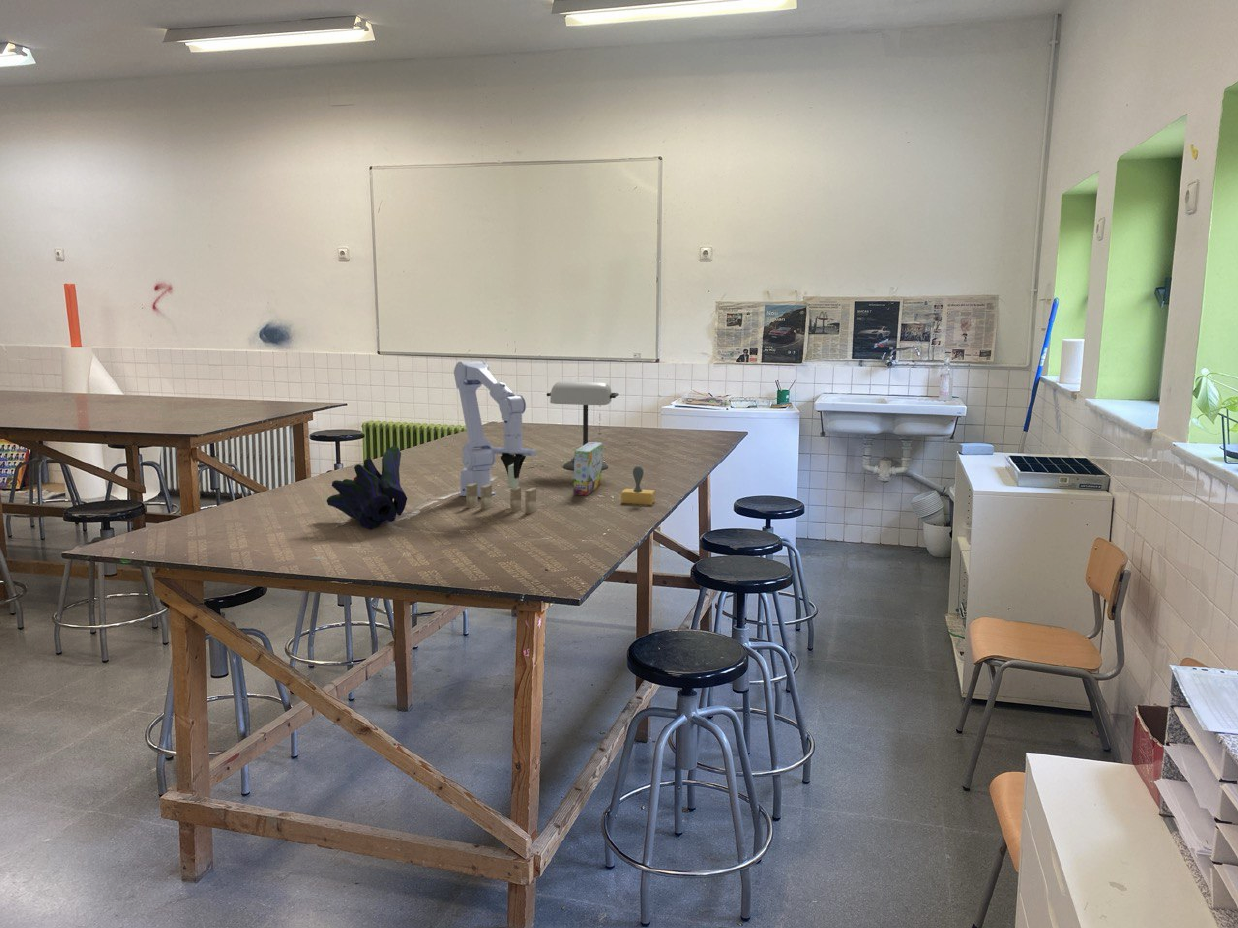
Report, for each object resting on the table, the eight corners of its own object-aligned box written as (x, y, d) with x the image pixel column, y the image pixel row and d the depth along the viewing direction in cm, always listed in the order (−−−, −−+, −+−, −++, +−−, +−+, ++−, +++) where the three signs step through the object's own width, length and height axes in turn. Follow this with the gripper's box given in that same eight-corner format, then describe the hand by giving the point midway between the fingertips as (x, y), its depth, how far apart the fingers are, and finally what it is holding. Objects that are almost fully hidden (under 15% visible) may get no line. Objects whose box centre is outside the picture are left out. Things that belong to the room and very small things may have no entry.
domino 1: (466, 507, 278) (466, 485, 277) (473, 504, 282) (472, 483, 281) (471, 508, 277) (470, 486, 276) (477, 505, 281) (477, 483, 280)
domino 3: (508, 487, 279) (507, 465, 277) (514, 484, 283) (513, 463, 281) (513, 488, 278) (512, 466, 277) (518, 485, 282) (518, 463, 281)
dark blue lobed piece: (357, 561, 251) (332, 513, 275) (441, 519, 259) (409, 475, 282) (327, 505, 240) (304, 459, 263) (416, 462, 247) (385, 421, 270)
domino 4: (510, 511, 273) (510, 489, 272) (516, 508, 277) (516, 486, 276) (515, 512, 273) (515, 489, 271) (521, 509, 277) (521, 487, 276)
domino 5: (525, 513, 272) (525, 490, 270) (531, 510, 276) (531, 488, 275) (530, 513, 271) (530, 491, 270) (536, 510, 275) (536, 488, 274)
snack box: (589, 496, 297) (589, 451, 294) (572, 495, 298) (572, 450, 295) (602, 483, 317) (603, 441, 315) (587, 482, 319) (587, 441, 316)
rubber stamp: (620, 503, 287) (621, 466, 285) (624, 499, 292) (625, 463, 290) (651, 505, 285) (652, 468, 283) (654, 501, 290) (655, 465, 288)
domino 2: (481, 509, 276) (480, 487, 275) (487, 506, 280) (487, 484, 279) (485, 509, 276) (485, 487, 275) (492, 506, 280) (491, 484, 279)
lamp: (542, 472, 336) (542, 382, 330) (557, 461, 360) (557, 377, 354) (612, 475, 332) (612, 384, 326) (622, 464, 356) (623, 379, 350)
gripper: (486, 435, 276) (486, 478, 278) (529, 437, 272) (529, 481, 274) (495, 432, 283) (496, 474, 285) (538, 434, 278) (538, 477, 281)
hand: (513, 477), depth 280 cm, fingers closed on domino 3, 1 cm apart
